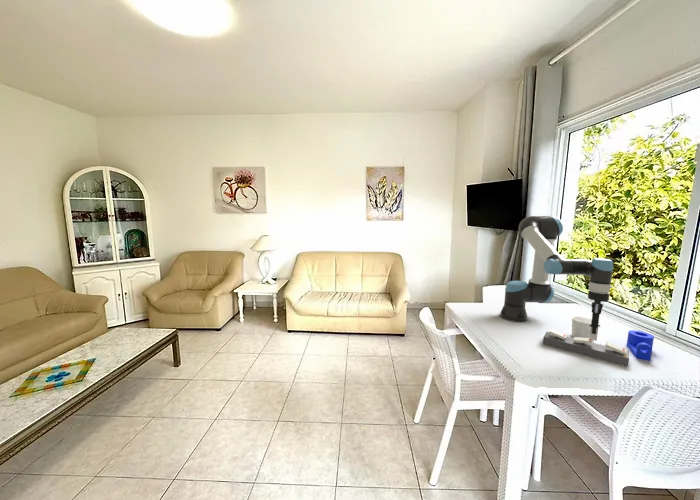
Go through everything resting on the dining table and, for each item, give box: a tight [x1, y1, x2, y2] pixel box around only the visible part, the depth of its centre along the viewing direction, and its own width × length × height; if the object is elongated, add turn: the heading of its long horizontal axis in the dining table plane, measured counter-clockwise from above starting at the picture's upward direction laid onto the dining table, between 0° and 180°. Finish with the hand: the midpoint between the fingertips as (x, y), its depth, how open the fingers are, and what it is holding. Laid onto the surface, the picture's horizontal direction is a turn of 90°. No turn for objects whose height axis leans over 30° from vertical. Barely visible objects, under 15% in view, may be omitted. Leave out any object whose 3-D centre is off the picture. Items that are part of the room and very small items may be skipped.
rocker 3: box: [605, 341, 627, 355], centre depth 135 cm, size 7×4×1 cm, turn 48°
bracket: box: [626, 329, 655, 362], centre depth 143 cm, size 20×9×8 cm, turn 141°
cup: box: [571, 316, 592, 338], centre depth 159 cm, size 10×10×10 cm
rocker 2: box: [573, 337, 594, 344], centre depth 143 cm, size 7×4×1 cm, turn 48°
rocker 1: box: [548, 328, 568, 340], centre depth 150 cm, size 7×4×1 cm, turn 48°
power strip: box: [542, 331, 630, 367], centre depth 143 cm, size 32×9×5 cm, turn 48°
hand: (593, 339), depth 140 cm, fingers closed
